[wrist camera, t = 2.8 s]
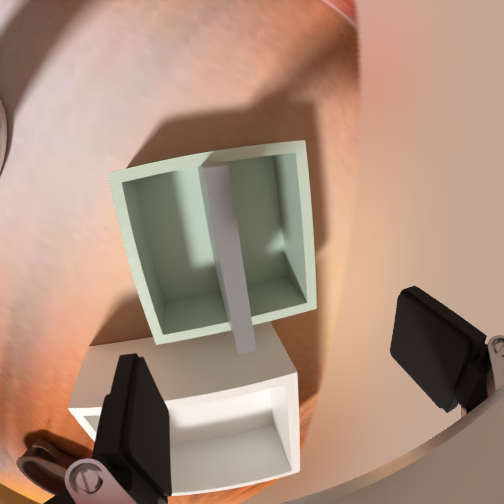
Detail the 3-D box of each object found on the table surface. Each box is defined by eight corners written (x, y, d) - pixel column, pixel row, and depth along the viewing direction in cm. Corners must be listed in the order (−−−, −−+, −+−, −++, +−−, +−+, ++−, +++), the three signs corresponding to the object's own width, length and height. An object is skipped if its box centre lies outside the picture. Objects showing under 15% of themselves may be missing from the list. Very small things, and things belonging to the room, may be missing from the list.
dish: (93, 443, 31) (89, 468, 26) (120, 495, 37) (120, 514, 33) (3, 419, 26) (-5, 440, 22) (46, 479, 33) (43, 496, 28)
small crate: (126, 168, 22) (88, 178, 12) (277, 142, 24) (333, 138, 15) (159, 307, 26) (153, 379, 17) (291, 279, 28) (339, 335, 19)
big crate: (89, 346, 26) (67, 408, 17) (266, 313, 29) (297, 371, 20) (149, 445, 32) (150, 497, 24) (279, 421, 35) (299, 471, 27)
